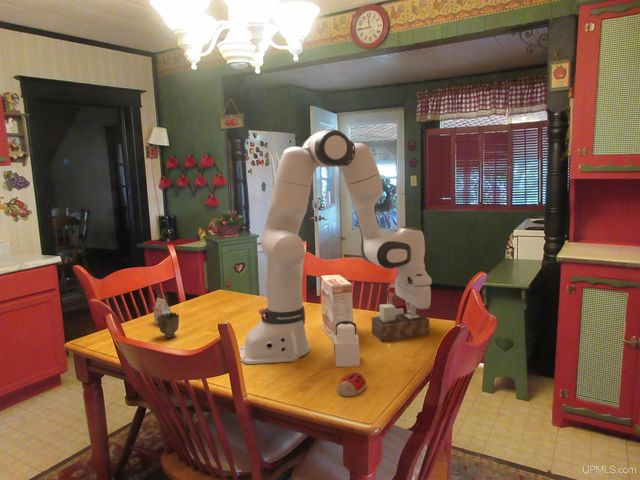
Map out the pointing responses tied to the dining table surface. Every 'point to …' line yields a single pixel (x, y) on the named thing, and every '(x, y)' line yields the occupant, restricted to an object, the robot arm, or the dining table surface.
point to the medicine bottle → (346, 345)
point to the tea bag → (160, 308)
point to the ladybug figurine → (351, 385)
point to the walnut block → (400, 327)
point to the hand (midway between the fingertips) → (411, 314)
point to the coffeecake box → (335, 302)
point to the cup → (168, 324)
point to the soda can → (395, 300)
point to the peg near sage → (387, 312)
